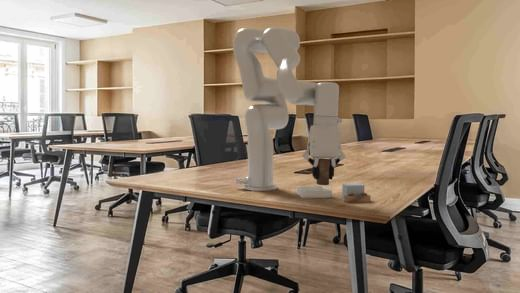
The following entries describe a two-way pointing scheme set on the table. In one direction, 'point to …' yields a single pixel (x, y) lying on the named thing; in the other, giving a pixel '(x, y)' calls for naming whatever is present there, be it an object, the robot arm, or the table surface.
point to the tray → (314, 192)
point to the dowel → (323, 171)
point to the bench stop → (357, 198)
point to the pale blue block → (352, 189)
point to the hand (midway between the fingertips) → (322, 178)
